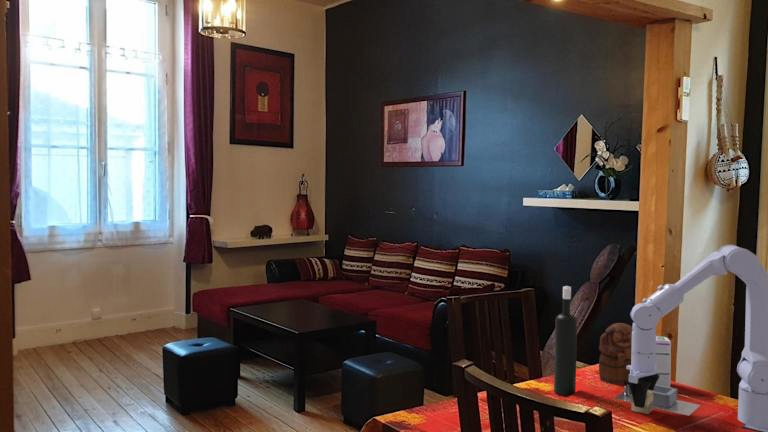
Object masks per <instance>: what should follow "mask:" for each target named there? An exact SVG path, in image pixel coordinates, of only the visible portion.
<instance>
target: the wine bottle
mask: <svg viewBox="0 0 768 432" xmlns="http://www.w3.org/2000/svg"><path fill="white" fill-rule="evenodd" d="M571 299H572V286H569V285H565V286H562V313H559V314H558V315H557V316H556V317H555V327H554V328H555V329H554V333H555V334H554V373H553V374H554V378H553V379H554V380H553V392H554V394H555V393H556V394H555V395H557V394H558V395H557V396H561V395H564V396H563V397H571V396H574V394H576V387H577V386H576V383H577V381H576V378H577V347H578V346H577V340H578V338H577V337H578V335H577V333H578V320H577V317H576V316H575V315H574V314H571Z"/></svg>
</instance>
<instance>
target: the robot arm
mask: <svg viewBox="0 0 768 432" xmlns="http://www.w3.org/2000/svg"><path fill="white" fill-rule="evenodd" d="M727 271H728V272H731V273H732V274H735V275H736V276H737V277H738V278H739V279H741V281H742V282H744V284H745V285H746V287H745V288H746V289H745V317H744V318H745V321H744V322H745V327H744V330H745V331H744V347H743V350H742V351H741V357H740V360H739V362H738V363H737V367H736V372H737V375H738V376H739V377H740V378H741V380H740V382H739V384H738V401H737V402H738V404H737V406H738V407H737V420H738V421H739V422H741V423H743V425H742V426H741V427H742V428H745V429H750V430H753V431H754V430H755V431H759V432H768V271H767V269H765V268H764V266H763V264H762V263H761V261H760V258H759V256H758V255H756V254H755V253H753V252H752V251H750V250H749V249H747V248H743V247H739V246H737V245H735V244H725V245H723V246H721V247H720V248H719V249H718V250H717V251H713V252H712V253H710V254H709V255H708V256H706V257H705V258H704V259H703V260H702V261H700V262H699V263H698V264H696V266H695V267H693V268H692V269H691V270H690V271H688V272H687V274H685V275H683V276H682V278H680V279H679V280H678V281H677V282H675V283H666V284H664V285H662V284H660V285H658V286H657V290H656V291H655V292H653V294H651V295H650V296H648V298H646V297H644V298H643V299H641V301H642V302H640V303H637V304H635V305H634V306H633V307H632V309H631V311H630V312H629V315H630V318H631V320H632V326H631V327H632V330H633V331H632V347H631V365H628V366H626V369H628V370H630V374H629V377H627V378H626V382H627V384H626V385H627V386H628V385H629V387H630V390H631V393H632V397H633V401H634V405H635V406H636V407H640V408H643V407H644V405H645V400H646V394H647V391H648V390H652V391H653V390H654V387H655V385H656V382H657V381H658V379H659V375H658V374H656V370H657V363H656V336H657V332H656V328H657V326H658V325H659V323H660V322H659V321H660V318H663V317H665V316H667V314H668V315H669V313H670V312H672V311H673V310H675V309H676V308H677V307H679V306H680V305H681V304H683V303H684V297H685V294H687V293H688V292H690V291H692V290H693V289H695V287H697V286H699V285H700V284H702V283H703V282H705V281H706V280H708V279H709V278H710V277H712V276H724V275H728V272H727Z"/></svg>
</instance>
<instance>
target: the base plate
mask: <svg viewBox="0 0 768 432" xmlns="http://www.w3.org/2000/svg"><path fill="white" fill-rule="evenodd" d="M623 386H624V385H623ZM623 389H624V390H623V392H620V393H619V394H617V395H616V396H615V397H613V399H615V400H619V401H624V402H628V403H630V404H632V393H631V390H630V387H629V385H628V384H627V385H625V386H624V388H623ZM700 406H701V404H697V403H692V402H687V401H684V400H678V399H677V401H675V402H674V403H673V404H672V405H671V406H669V407H665V406H661V405H656V404H653V409H654V408H655V409H658V410H663V411H668V412H670V413H676V414H679V415H684V416H689V417H690V415H692V414H693V413H694V412H695V411H696V410H698V409H699V408H700Z"/></svg>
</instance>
